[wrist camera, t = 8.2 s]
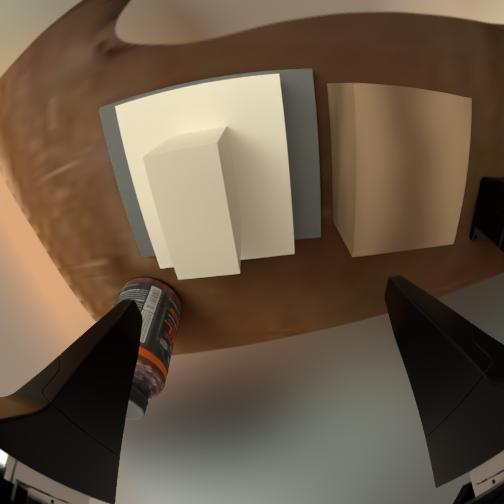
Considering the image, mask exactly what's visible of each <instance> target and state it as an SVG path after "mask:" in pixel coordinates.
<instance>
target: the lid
mask: <svg viewBox="0 0 504 504" xmlns="http://www.w3.org/2000/svg"><path fill="white" fill-rule="evenodd" d="M115 109H116V114H117V119H118V124H119V128H120V133H121V137H122V142H123V146H124V150H125V154H126V158H127V162H128V166H129V170H130V174H131V177H132V181H133V185H134V188H135V192H136V195H137V199H138V202H139V205H140V209H141V212H142V215H143V219H144V222H145V225H146V228H147V231H148V234H149V237H150V240H151V243H152V246H153V249H154V252H155V255H156V258H157V261H158V264H159V266H160V269H161V268H171V267H174V269H175V272H176V275H177V278H178V280H181V279H191V278H202V277H212V276H222V275H231V274H240V264H241V260H245V259H254V258H263V257H272V256H281V255H290V254H295V248H294V230H293V214H292V200H291V186H290V174H289V162H288V150H287V140H286V130H285V120H284V110H283V101H282V93H281V84H280V76H279V74H268V75H257V76H248V77H240V78H233V79H226V80H220V81H213V82H208V83H202V84H197V85H192V86H187V87H183V88H178V89H174V90H170V91H166V92H162V93H158V94H154V95H150V96H147V97H143V98H140V99H136V100H133V101H130V102H126V103H123V104H120V105H117V106H115Z"/></svg>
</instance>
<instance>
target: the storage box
mask: <svg viewBox="0 0 504 504" xmlns="http://www.w3.org/2000/svg"><path fill="white" fill-rule="evenodd" d="M327 92H328V104H329V118H330V136H331V160H332V221H333V223H334V224H335V226H336V228H337V230H338V232H339V233H340V235H341V237H342V239H343V241H344V243H345V244H346V246H347V248H348V250H349V252H350V254H351V256H352V257H359V256H367V255H375V254H383V253H390V252H398V251H406V250H413V249H421V248H428V247H435V246H443V245H450V244H454V240H455V236H456V232H457V227H458V223H459V218H460V213H461V208H462V203H463V197H464V191H465V184H466V177H467V169H468V161H469V150H470V137H471V99H470V98H466V97H462V96H457V95H452V94H447V93H442V92H436V91H430V90H424V89H417V88H409V87H401V86H391V85H380V84H364V83H327Z"/></svg>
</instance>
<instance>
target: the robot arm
mask: <svg viewBox="0 0 504 504" xmlns="http://www.w3.org/2000/svg"><path fill="white" fill-rule="evenodd" d="M470 239H471V240H472V241H473V242H475V241H482V240H490V241H491V242H492V243H494V244H495V245H496V246H497V247H498V248H499V249H500V250H501V251H502V252H504V178H494V177H484V178H483V179H482V181H481V186H480V192H479V198H478V203H477V208H476V213H475V217H474V222H473V226H472V230H471V234H470ZM385 302H386V306H387V310H388V313H389V317H390V321H391V325H392V329H393V332H394V336H395V339H396V342H397V345H398V348H399V351H400V354H401V356H402V359H403V362H404V365H405V368H406V371H407V374H408V377H409V381H410V384H411V387H412V390H413V393H414V397H415V400H416V404H417V407H418V411H419V414H420V418H421V422H422V426H423V430H424V434H425V437H426V442H427V447H428V451H429V456H430V461H431V465H432V470H433V476H434V481H435V486H436V488H438V487H440V486H442V485H444V484H447V483H449V482H451V481H453V480H455V479H457V478H459V477H461V476H463V475H465V474H467V473H470V477H471V482H469V483H467V484H465V485H463V486H462V488H461V490H460V492H459V494H458V496H457V497H456V499H455V501H454V503H453V504H504V345H503V344H502V343H500V342H498V341H497V340H495V339H494V338H492V337H491V336H489V335H488V334H486V333H485V332H483V331H482V330H480V329H479V328H478V327H476V326H475V325H473V324H472V323H471V324H470V322H469V321H468V320H466V319H465V318H463V317H462V316H460V315H459V314H458V313H456V312H455V311H453V310H452V309H451V308H449V307H448V306H446V305H444V304H443V303H441V302H440V301H439V300H437V299H436V298H434V297H433V296H431V295H430V294H428V293H427V292H425V291H424V290H422V289H421V288H419V287H418V286H416V285H415V284H413V283H412V282H410V281H408V280H407V279H405V278H404V277H402V276H400V275H396V276H390V277H389V278H388V282H387V286H386V291H385ZM142 323H143V317H142V314H141V312H140V310H139V308H138V306H137V304H136V302H135V300H133V299H124V300H122V301H121V302H120V303H119V304H118V305H116V306H115V307H114V308H113V309H112V310H110V311H109V312H108V313H107V314H106V315H105V316H103V317H102V318H101V319H100V320H99V321H98V322H96V323H95V324H94V325H93V326H92V327H91V328H90V329H88V330H87V331H86V332H85V333H84V334H83V335H82V336H81V337H79V338H78V339H77V340H76V341H75V342H74V343H73V344H71V345H70V346H69V347H68V348H67V349H66V350H65V351H64V352H62V353H61V355H59V356H58V357H57V358H56V359H55V360H54V361H53V362H51V363H50V364H49V365H48V366H47V367H46V368H45V369H44V370H42V371H41V372H40V373H39V374H37V375H36V376H35V377H34V378H32V379H31V380H30V381H29V382H27V383H26V384H25V385H24V386H23V387H21V388H20V389H19V390H18V391H16V392H15V393H13V394H11V395H9V396H6V397H0V504H88V503H89V498H90V497H92V498H95V499H98V500H101V501H103V502H106V503H109V504H115V496H116V487H117V477H118V468H119V460H120V452H121V445H122V438H123V431H124V425H125V419H126V414H127V408H128V403H129V398H130V393H131V388H132V383H133V378H134V373H135V369H136V364H137V359H138V354H139V346H140V338H141V330H142Z"/></svg>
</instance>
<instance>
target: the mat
mask: <svg viewBox="0 0 504 504" xmlns="http://www.w3.org/2000/svg"><path fill="white" fill-rule="evenodd" d="M268 74H279V76H280V84H281V93H282V101H283V110H284V120H285V130H286V140H287V150H288V162H289V174H290V186H291V200H292V214H293V230H294V240H299V239H308V238H317V237H321V192H320V164H319V144H318V128H317V115H316V103H315V92H314V81H313V72H312V69H289V70H274V71H262V72H252V73H243V74H236V75H229V76H222V77H216V78H210V79H204V80H199V81H194V82H189V83H184V84H180V85H175V86H171V87H167V88H163V89H159V90H155V91H151V92H148V93H144V94H141V95H137V96H134V97H131V98H127V99H124V100H121V101H118V102H115V103H112V104H109V105H106V106H104V107H101V108H99V112H100V117H101V122H102V126H103V131H104V135H105V139H106V144H107V148H108V152H109V156H110V160H111V163H112V167H113V171H114V175H115V178H116V182H117V185H118V189H119V192H120V195H121V199H122V202H123V205H124V208H125V211H126V214H127V218H128V221H129V224H130V227H131V230H132V232H133V235H134V238H135V241H136V244H137V247H138V249H139V252H140V255H141V257H149V256H156V255H155V252H154V249H153V246H152V243H151V240H150V237H149V234H148V231H147V228H146V225H145V222H144V219H143V215H142V212H141V209H140V205H139V202H138V199H137V195H136V192H135V188H134V185H133V181H132V177H131V174H130V170H129V166H128V162H127V158H126V154H125V150H124V146H123V142H122V137H121V133H120V128H119V124H118V119H117V114H116V109H115V106H117V105H120V104H123V103H126V102H130V101H133V100H136V99H140V98H143V97H147V96H150V95H154V94H158V93H162V92H166V91H170V90H174V89H178V88H183V87H187V86H192V85H197V84H202V83H208V82H213V81H220V80H226V79H233V78H240V77H248V76H257V75H268Z"/></svg>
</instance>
